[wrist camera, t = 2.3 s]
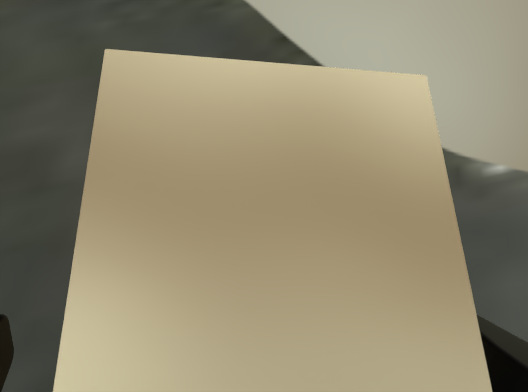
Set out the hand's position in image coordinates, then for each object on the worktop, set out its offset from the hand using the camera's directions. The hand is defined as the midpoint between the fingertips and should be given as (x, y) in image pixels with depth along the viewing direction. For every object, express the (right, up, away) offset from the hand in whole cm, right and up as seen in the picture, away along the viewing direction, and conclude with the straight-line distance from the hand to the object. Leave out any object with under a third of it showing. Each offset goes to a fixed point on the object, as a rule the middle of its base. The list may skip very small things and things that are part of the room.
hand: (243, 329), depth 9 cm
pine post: (-1, -2, +9) cm, 9 cm away
